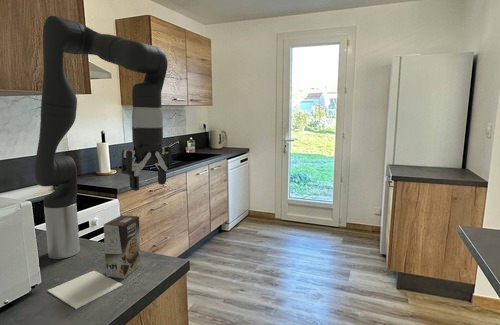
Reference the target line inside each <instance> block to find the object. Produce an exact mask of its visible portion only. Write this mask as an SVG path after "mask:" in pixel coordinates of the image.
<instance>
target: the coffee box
mask: <svg viewBox="0 0 500 325" xmlns="http://www.w3.org/2000/svg"><path fill="white" fill-rule="evenodd" d="M140 229H141V228H140V216H139V215H119V216H118V217H116V218H113V219H112V220H109V221H107V222H106V223H103V235H104V237H103V239H104V242H103V243H104V254H105V255H104V258H105V259H104V260H105V276H107V277H109V278H117V279H126V278H127V277H128V276H129V275H130V274H132V273H133V272H134V271H136V270H137V269H139V267H140V266H142V262H141V261H142V257H141V235H140V234H141V233H140Z"/></svg>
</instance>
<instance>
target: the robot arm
mask: <svg viewBox="0 0 500 325" xmlns="http://www.w3.org/2000/svg"><path fill="white" fill-rule="evenodd" d="M64 53H65V54H66V53H67V54H72V55H88V56H89V55H92V56H97V57H98V58H99V59H101V60H103V61H104V62H107V63H110V64H114V65H117V66H120V67H122V68H124V69H125V70H128V71H131V72H136V73H140V74H145V76H144V79H143V81H142V82H138V83H135V84H134V85H133V86H132V90H131V93H132V94H131V96H132V98H131V99H132V100H131V102H132V112H131V130H132V131H131V134H132V135H131V136H132V144H133V149H130V150H129V149H123V150H121V174H124V175H128V177H129V187H130V189H131V190H132V191H135V192H136V191H139V190H140V176H139V174H140V172H141V170H143V169H144V167H145V166H150V165H155V166H156V168H157V169H158V170H157V183H158V185H162V186H163V185H166V182H167V171H168V169H170V168H171V169H172V167H173V156H172V154H173V153H172V147H171V146H170V145H169V146H168V145H162V144H163V143H164V129H163V128H164V124H163V123H164V122H163V121H164V119H163V118H164V117H163V110H162V91H163V88H164V83H165V79H166V76H167V71H168V57H167V55H166V53H165V51H164V50H163V49H162V48H160V47H159V46H157V45H152V44H149V43H144V42H140V41H137V40H133V39H132V40H131V39H127V38H125V37H120V36H118V35H114V34H109V33H100V32H97V31H95V30H93V29H91V28H90V27H88V26H86V25H84V24H82V23H80V22H78V21H75V20H72V19H67V18H64V17H61V16H57V15H49V16H47V18H46V19H45V21H44V24H43V28H42V58H43V59H42V60H43V63H42V64H43V78H42V79H43V81H42V93H41V101H40V102H41V103H40V122H39V137H38V144H37V150H36V156H35V160H34V161H35V162H34V179H35V181H36V183H37V184H38V185H39V186H40V187H52V186H57V187H56V189H55V190H53V192H51V193H49V194H48V195H46V196H44V198H43V210H44V211H43V212H44V220H45V222H44V223H45V233H46V243H47V245H46V246H47V253H48V254H47V256H48V258H50V259H51V260H52V259H53V260H58V259H59V260H61V259H66V258H70V257H73V256H75V255H78V253H79V252H80V250H81V248H80V235H79V234H80V233H79V222H78V221H79V220H78V208H77V196H78V170H77V165H76V164H77V163H76V160H74V158H73V157H72V156H70V155H58V156H57V155H56V153H57V149H58V147H59V145H60V142H61V141H62V139H64V137H65V136H66V135H67V133H68V132H69V131H70V130H71V128H72V127H73V125H74V124H75V121H76V117H77V107H78V97H77V95H76V93H75V91H74V89H73V86H72V85H71V83H70V80H69V79H68V76H67V75H66V72H65V70H64V69H65V68H64ZM133 158H134V159H133Z"/></svg>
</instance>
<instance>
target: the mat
mask: <svg viewBox="0 0 500 325" xmlns="http://www.w3.org/2000/svg"><path fill="white" fill-rule="evenodd" d="M123 286H124V284H123V283H121V282H118V281H117V280H115V279H112V277H108V276H106V275H105V274H102V273H100V272H99V271H96V270H92V271H90V272H89V271H88V272H87V273H85V274H82V275H80V276H77V277H75V278H73V279H71V280H69V281H65V282H64V283H61V284H59V285H57V286H54V287H53V288H49V289H47V292H48V293H50V294H51V295H53V296H54V297H55V298H58V299H59V300H61V301H62V302H64V303H65V304H67V305H68V306H70V307H72V308H73V309H75V310H78V309H79V308H82V307H83V306H86V305H87V304H89V303H92V302H93V301H95V300H97V299H99V298H101V297H104V296H105V295H108V294H109V293H111V292H113V291H115V290H116V289H118V288H121V287H123Z"/></svg>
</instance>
